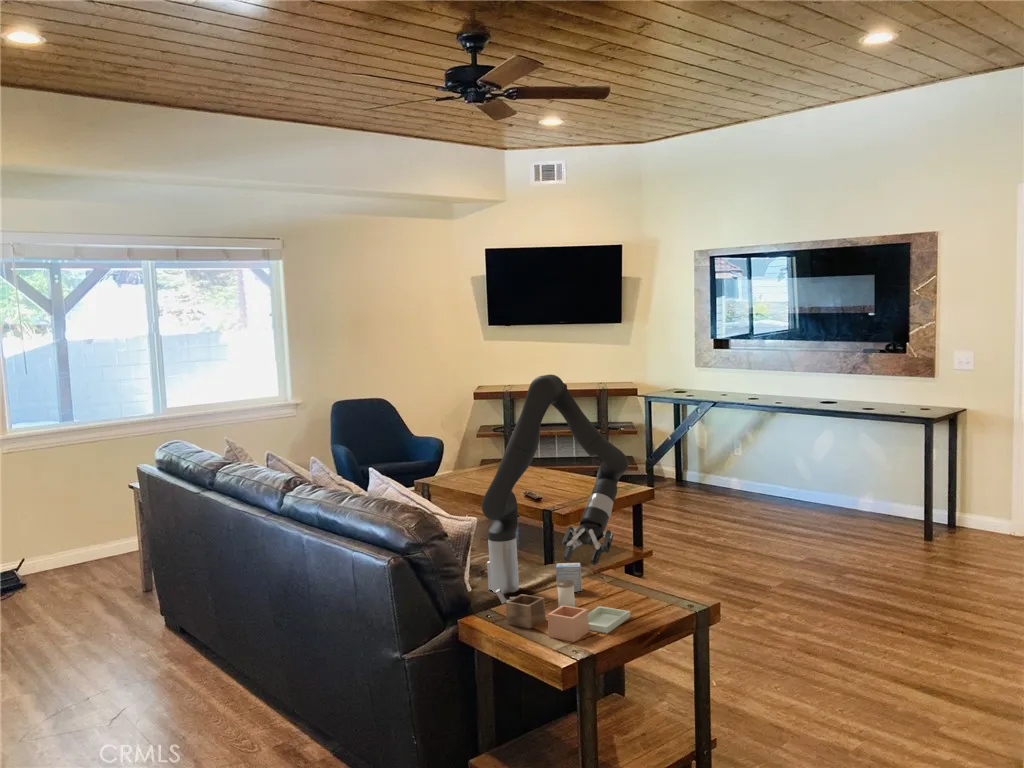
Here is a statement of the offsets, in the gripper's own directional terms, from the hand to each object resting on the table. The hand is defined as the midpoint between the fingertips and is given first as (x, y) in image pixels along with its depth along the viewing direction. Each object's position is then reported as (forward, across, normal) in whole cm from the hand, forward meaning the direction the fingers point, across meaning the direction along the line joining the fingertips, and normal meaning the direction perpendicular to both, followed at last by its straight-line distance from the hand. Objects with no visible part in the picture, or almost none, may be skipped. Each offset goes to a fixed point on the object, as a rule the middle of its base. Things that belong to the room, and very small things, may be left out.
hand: (579, 561), depth 213 cm
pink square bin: (+19, 0, +8) cm, 20 cm away
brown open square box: (+16, -16, +10) cm, 25 cm away
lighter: (+14, -25, +13) cm, 31 cm away
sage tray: (+10, +4, +16) cm, 20 cm away
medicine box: (-5, -20, +32) cm, 38 cm away
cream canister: (+9, -9, +18) cm, 22 cm away
